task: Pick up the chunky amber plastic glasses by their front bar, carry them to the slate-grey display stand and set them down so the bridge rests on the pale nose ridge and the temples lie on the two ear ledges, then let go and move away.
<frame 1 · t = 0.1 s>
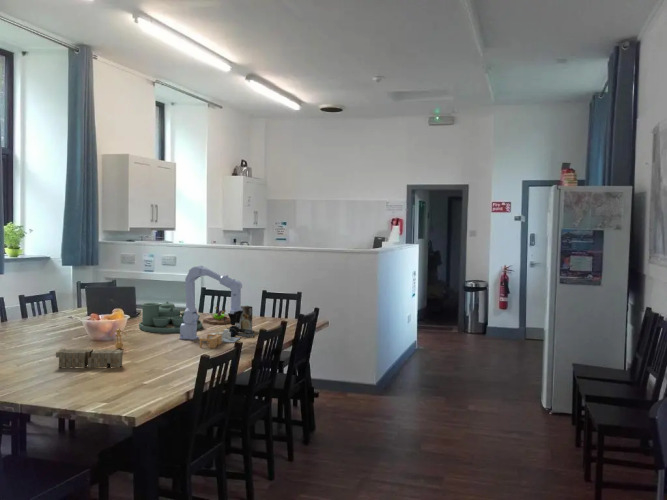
hand: (235, 324, 345), 10 cm above the table, tool pointing down, fingers open, 7 cm apart
headset: (238, 336, 362), on the table
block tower: (90, 367, 278), on the table
plant: (218, 323, 408), on the table
coffee box: (243, 331, 378), on the table
figurine: (118, 349, 315), on the table
tea set: (171, 328, 383), on the table
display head: (222, 340, 347), on the table
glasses: (215, 345, 331), on the table
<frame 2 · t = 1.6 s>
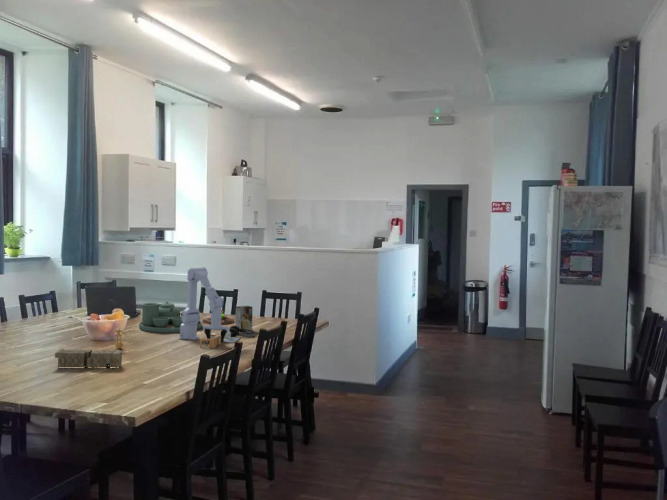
hand: (215, 342, 331), 2 cm above the table, tool pointing down, fingers open, 7 cm apart
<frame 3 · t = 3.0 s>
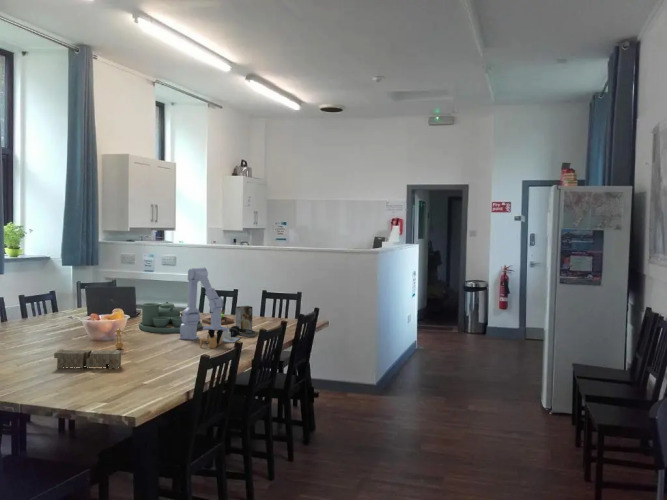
hand: (215, 343, 331), 1 cm above the table, tool pointing down, fingers closed on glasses, 2 cm apart
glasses: (215, 345, 331), on the table, touching gripper
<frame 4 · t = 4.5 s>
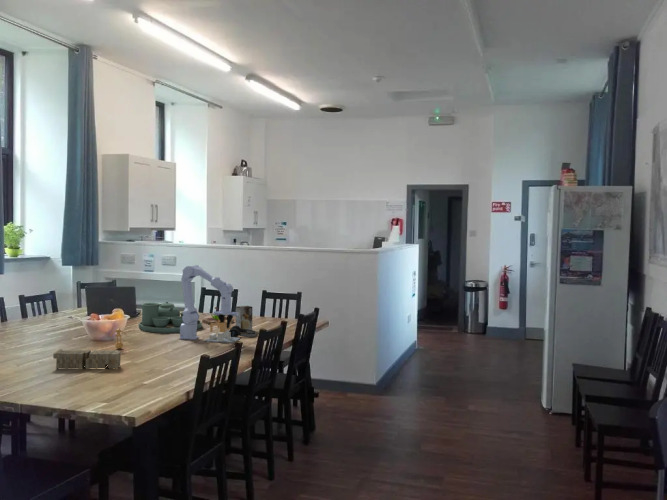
hand: (225, 327, 342), 8 cm above the table, tool pointing down, fingers closed on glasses, 2 cm apart
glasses: (225, 330, 342), point 7 cm above the table, touching gripper
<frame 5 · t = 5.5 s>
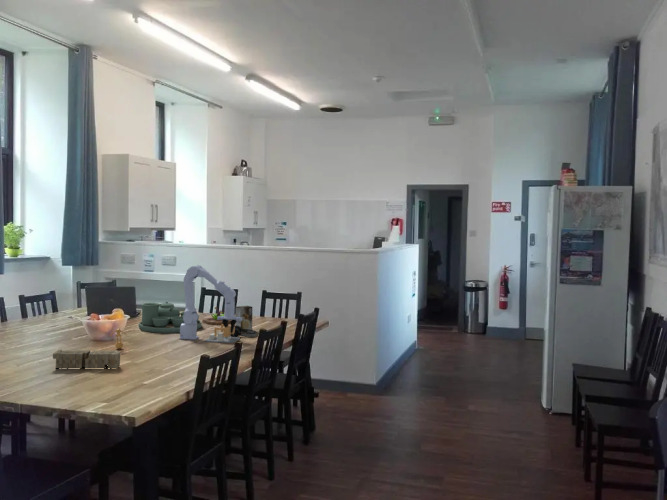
hand: (229, 332, 346), 5 cm above the table, tool pointing down, fingers closed on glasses, 2 cm apart
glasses: (229, 334, 346), point 3 cm above the table, touching gripper
when the fingers open (4 cm above the table, at t = 6.3 s): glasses drops 1 cm, resting on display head.
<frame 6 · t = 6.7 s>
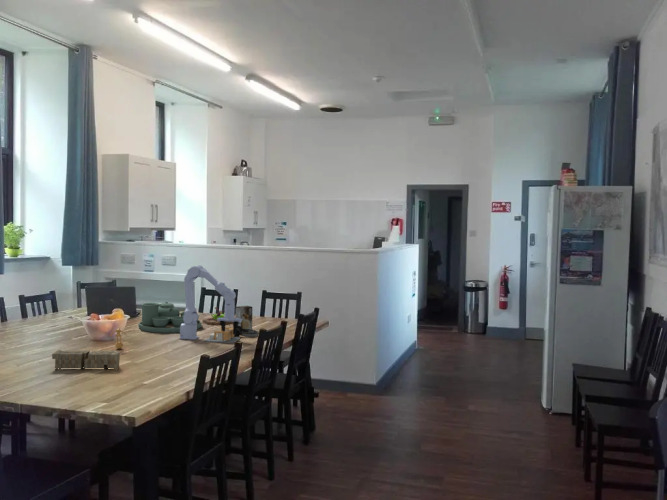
hand: (229, 333, 346), 4 cm above the table, tool pointing down, fingers open, 6 cm apart
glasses: (229, 338, 346), point 1 cm above the table, touching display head
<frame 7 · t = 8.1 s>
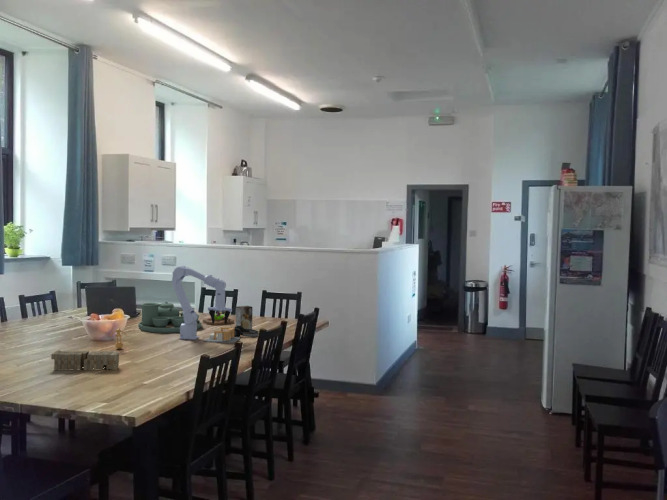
hand: (219, 323, 349), 10 cm above the table, tool pointing down, fingers open, 7 cm apart
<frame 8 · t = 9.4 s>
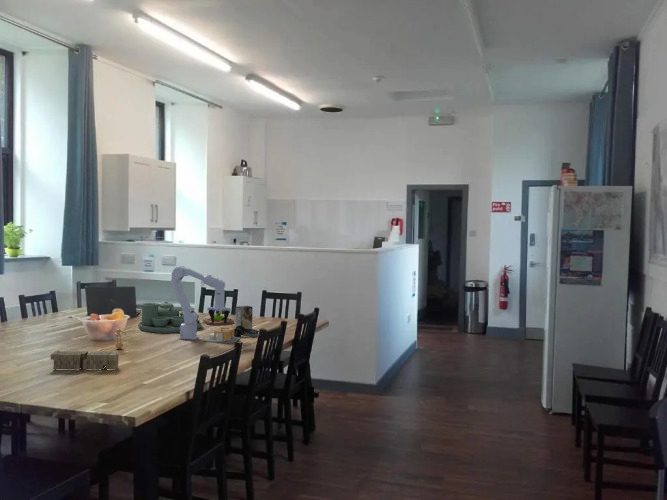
hand: (219, 322, 349), 10 cm above the table, tool pointing down, fingers open, 7 cm apart
at the end: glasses 0.0 cm from the target spot on the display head, point 1.4 cm above the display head's base; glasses tilted 0°; the gripper is holding nothing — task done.
